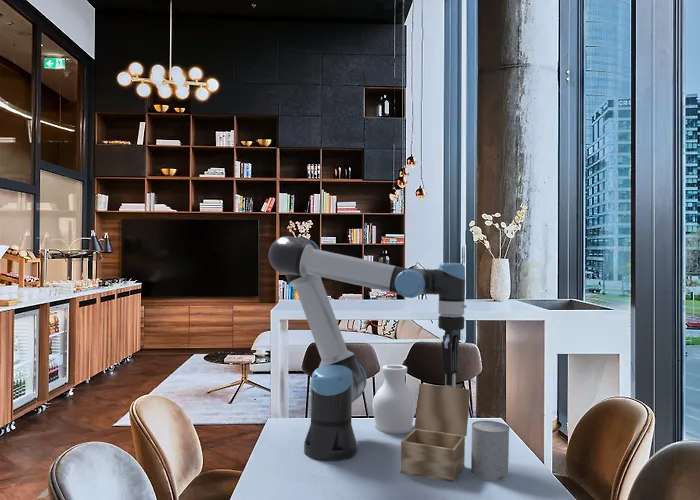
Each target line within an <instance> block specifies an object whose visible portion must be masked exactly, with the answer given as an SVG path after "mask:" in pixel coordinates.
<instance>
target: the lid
mask: <svg viewBox="0 0 700 500" xmlns="http://www.w3.org/2000/svg"><path fill="white" fill-rule="evenodd" d="M418 384H419V385H418V393H417V401H416V410H415V420H414V426H413V427H414V429H419V430H426V431H433V432H439V433H446V434H453V435H460V436H465V437H467V435H468V434H467V433H468V421H469V410H470V408H469V407H470V400H471V399H470V398H471V397H470V396H471V389H469V388H461V387H455V388H454V387H445V385H435V384H426V383H418Z"/></svg>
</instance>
